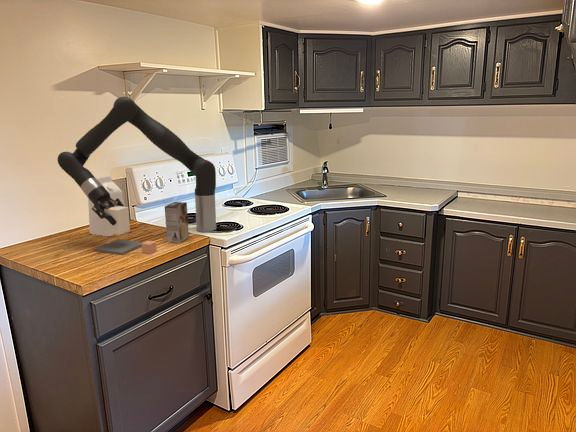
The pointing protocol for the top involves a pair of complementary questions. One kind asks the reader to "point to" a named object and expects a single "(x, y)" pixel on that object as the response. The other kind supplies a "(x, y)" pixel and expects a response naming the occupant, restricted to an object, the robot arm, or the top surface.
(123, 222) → the white rectangular block
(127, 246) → the mat
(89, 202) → the milk
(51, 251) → the top surface
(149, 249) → the block
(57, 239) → the top surface
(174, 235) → the coffee box
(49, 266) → the top surface
